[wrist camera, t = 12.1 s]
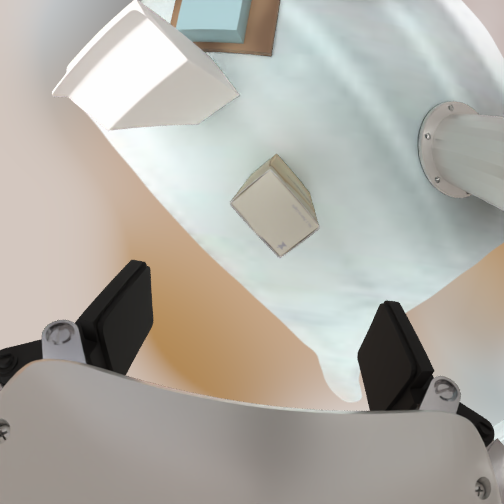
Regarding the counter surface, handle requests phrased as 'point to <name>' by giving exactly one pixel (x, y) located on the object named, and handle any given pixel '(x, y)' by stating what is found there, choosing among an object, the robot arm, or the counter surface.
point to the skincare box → (276, 207)
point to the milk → (144, 75)
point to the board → (256, 34)
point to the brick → (214, 20)
